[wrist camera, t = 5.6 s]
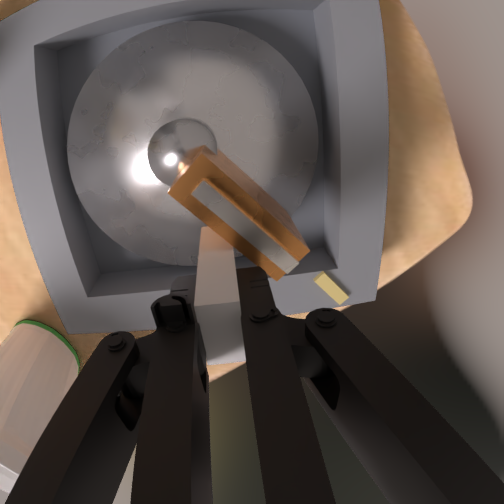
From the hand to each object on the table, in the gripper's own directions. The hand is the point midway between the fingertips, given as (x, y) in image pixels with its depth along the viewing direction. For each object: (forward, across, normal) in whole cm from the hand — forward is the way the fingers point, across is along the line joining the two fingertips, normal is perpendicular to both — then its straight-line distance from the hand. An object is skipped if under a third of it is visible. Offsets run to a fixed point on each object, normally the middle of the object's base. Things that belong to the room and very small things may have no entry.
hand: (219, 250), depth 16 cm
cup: (+6, -20, -12) cm, 24 cm away
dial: (+4, -1, +5) cm, 7 cm away
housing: (+6, -1, +5) cm, 8 cm away
